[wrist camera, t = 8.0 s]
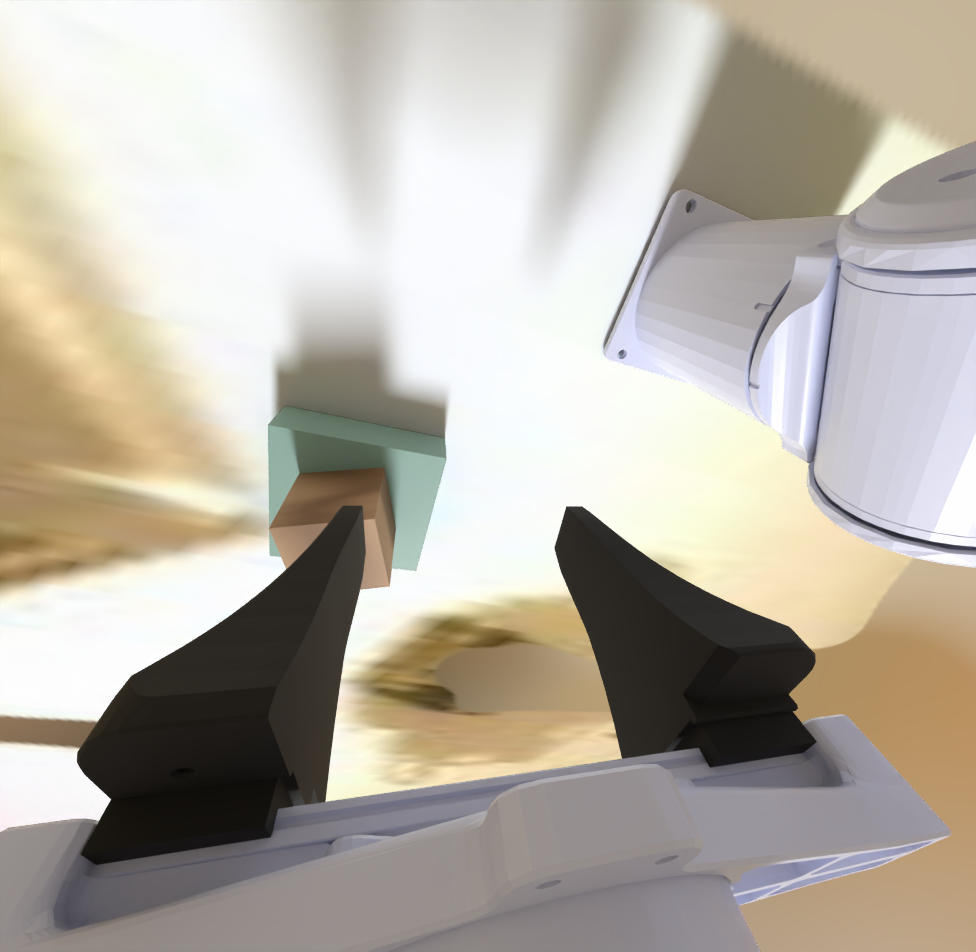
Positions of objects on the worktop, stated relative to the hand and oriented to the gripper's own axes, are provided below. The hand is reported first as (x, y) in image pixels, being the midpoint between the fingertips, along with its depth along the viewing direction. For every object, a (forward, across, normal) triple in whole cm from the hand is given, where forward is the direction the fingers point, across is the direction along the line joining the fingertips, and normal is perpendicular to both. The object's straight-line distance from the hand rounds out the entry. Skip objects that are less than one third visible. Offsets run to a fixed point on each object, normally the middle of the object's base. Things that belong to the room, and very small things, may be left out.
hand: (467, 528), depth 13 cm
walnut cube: (+8, +6, +5) cm, 11 cm away
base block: (+11, +5, +5) cm, 13 cm away
